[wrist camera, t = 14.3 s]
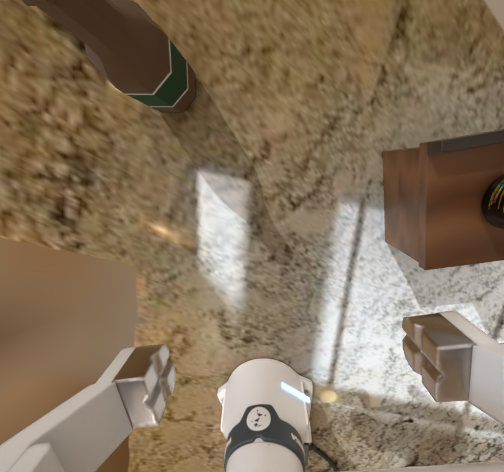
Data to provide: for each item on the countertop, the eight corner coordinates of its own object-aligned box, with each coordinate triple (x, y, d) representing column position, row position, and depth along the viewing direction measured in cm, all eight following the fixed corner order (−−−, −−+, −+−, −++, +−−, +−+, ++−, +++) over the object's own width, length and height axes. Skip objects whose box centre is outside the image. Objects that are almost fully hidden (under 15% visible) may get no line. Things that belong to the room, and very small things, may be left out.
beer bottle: (206, 69, 36) (103, -101, 13) (188, 124, 38) (70, 63, 15) (154, 45, 35) (-52, -179, 12) (139, 102, 37) (-63, 2, 14)
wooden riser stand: (503, 227, 40) (613, 256, 27) (385, 244, 42) (438, 278, 29) (513, 125, 36) (647, 105, 23) (382, 148, 38) (442, 140, 25)
